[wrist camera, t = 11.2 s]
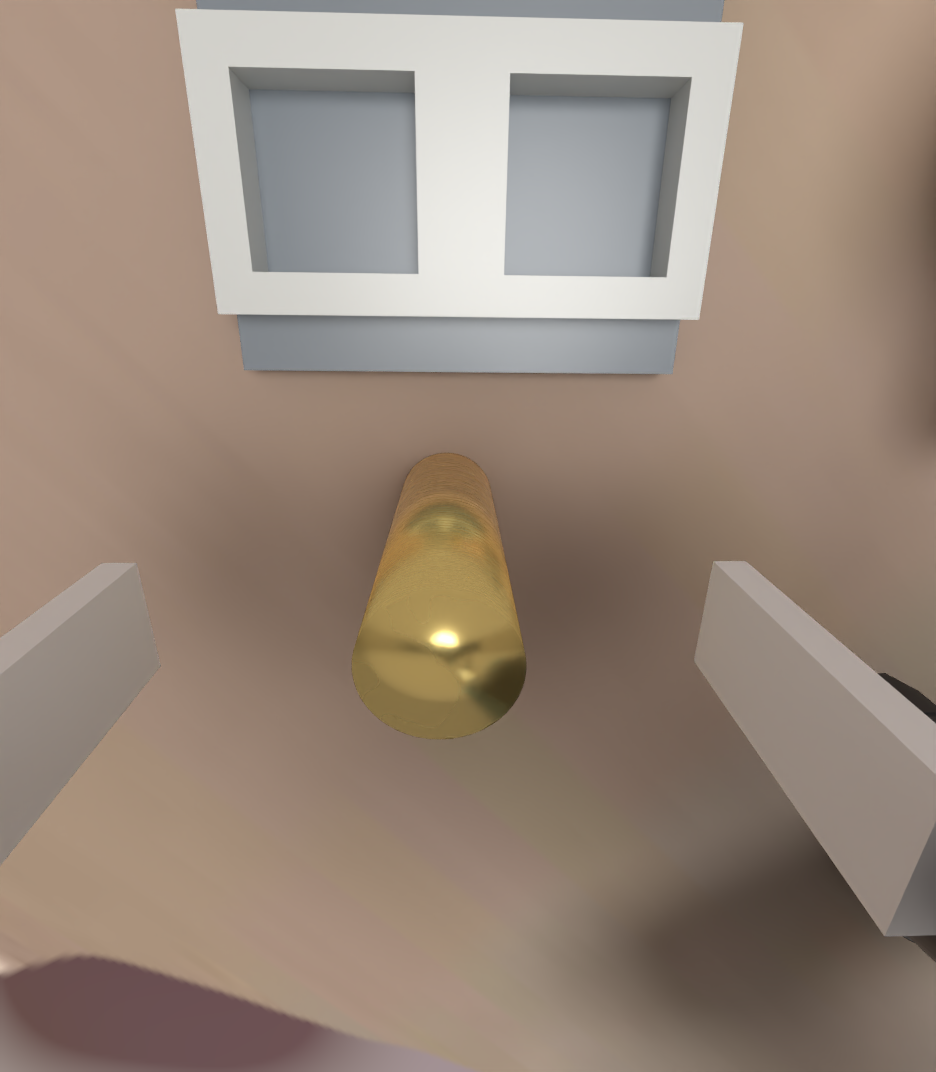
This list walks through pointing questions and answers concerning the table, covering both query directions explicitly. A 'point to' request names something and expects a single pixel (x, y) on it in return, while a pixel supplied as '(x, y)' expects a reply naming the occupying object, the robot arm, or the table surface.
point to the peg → (441, 610)
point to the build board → (545, 209)
